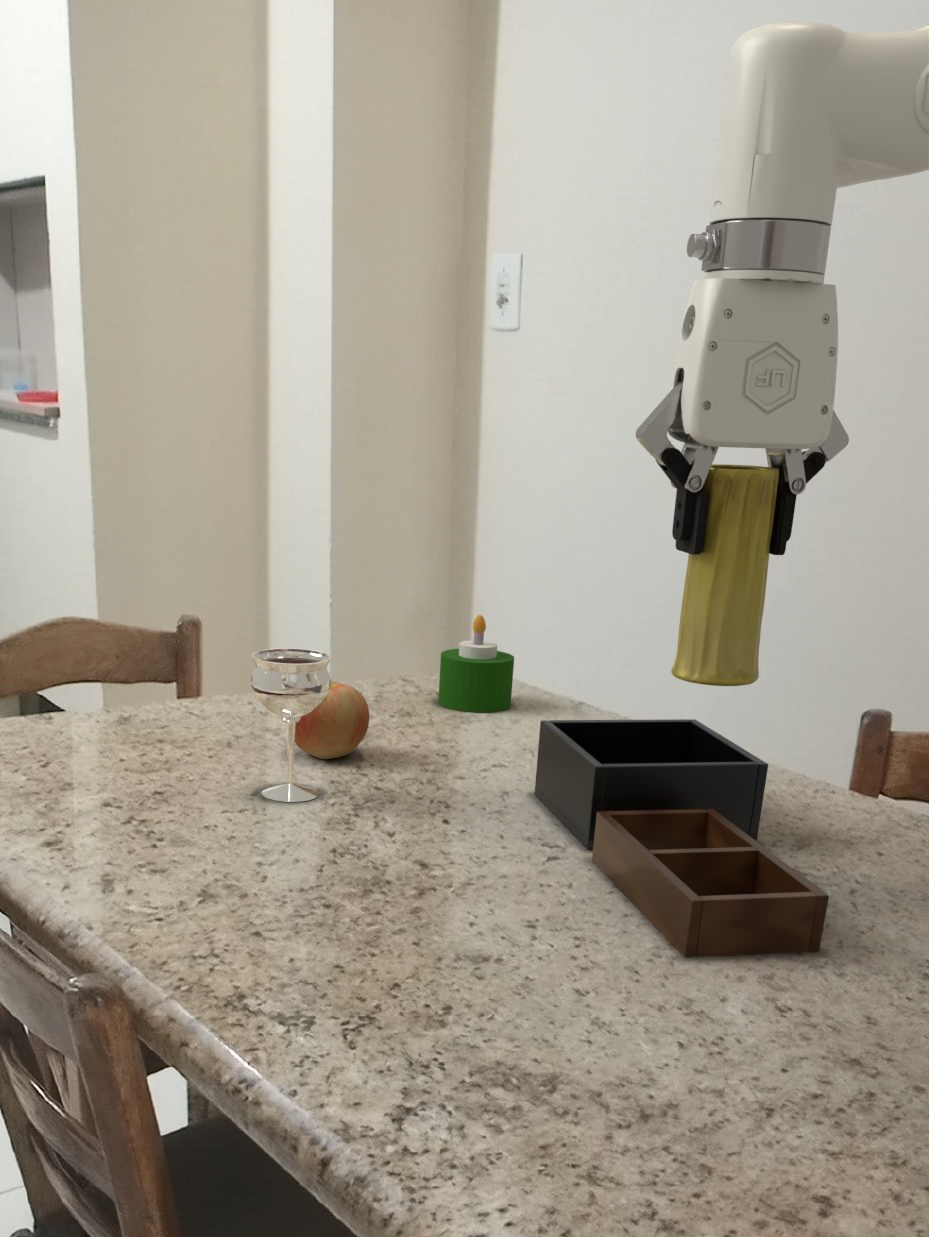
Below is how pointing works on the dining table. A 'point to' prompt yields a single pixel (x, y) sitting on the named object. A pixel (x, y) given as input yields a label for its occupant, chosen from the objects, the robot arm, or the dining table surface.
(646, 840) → the divided wooden tray
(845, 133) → the robot arm
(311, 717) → the apple
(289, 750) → the wineglass
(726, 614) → the vase
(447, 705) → the candle
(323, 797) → the dining table surface
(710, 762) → the black open box
